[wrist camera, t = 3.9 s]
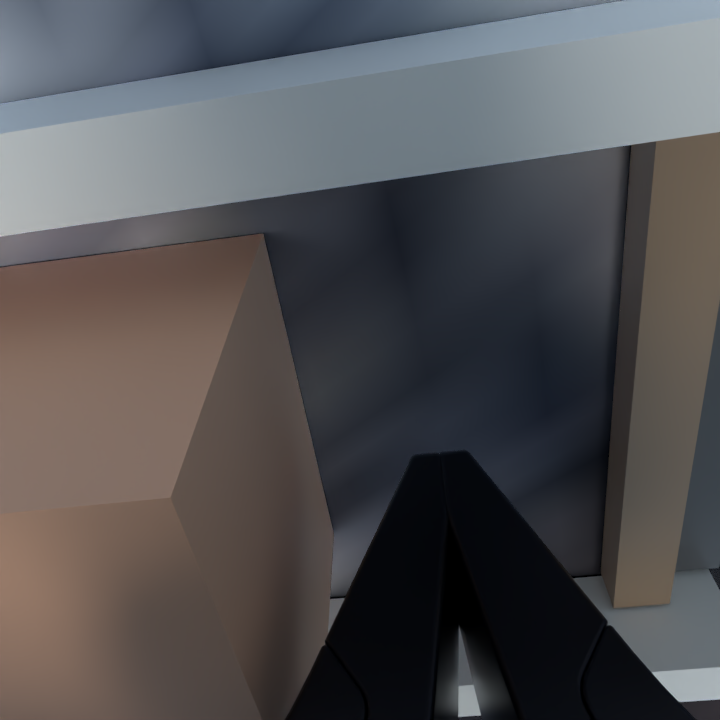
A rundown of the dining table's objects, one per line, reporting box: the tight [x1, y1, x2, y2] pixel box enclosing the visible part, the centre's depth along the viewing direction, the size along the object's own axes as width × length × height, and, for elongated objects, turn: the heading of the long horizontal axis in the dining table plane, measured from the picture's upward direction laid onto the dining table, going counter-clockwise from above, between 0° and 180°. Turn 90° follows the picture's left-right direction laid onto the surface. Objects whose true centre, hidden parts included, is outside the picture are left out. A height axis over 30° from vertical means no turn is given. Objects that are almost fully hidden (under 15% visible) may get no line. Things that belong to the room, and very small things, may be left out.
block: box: [0, 234, 334, 720], centre depth 9 cm, size 6×6×5 cm
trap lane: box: [0, 0, 720, 717], centre depth 10 cm, size 11×24×2 cm, turn 99°
